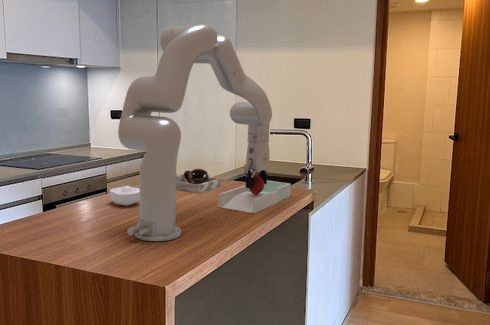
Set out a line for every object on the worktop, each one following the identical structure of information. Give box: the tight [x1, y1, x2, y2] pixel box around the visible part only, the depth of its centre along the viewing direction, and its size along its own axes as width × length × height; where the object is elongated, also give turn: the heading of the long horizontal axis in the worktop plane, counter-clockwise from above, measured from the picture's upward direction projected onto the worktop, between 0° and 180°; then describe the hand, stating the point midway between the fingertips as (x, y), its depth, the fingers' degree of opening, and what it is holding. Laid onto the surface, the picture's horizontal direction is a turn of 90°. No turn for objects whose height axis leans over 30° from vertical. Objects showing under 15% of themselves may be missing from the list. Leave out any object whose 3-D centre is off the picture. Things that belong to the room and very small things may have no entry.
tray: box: [244, 180, 292, 203], centre depth 174 cm, size 12×13×5 cm
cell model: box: [109, 185, 140, 207], centre depth 155 cm, size 10×12×7 cm
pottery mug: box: [183, 168, 210, 185], centre depth 190 cm, size 12×10×8 cm
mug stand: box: [176, 173, 222, 194], centre depth 188 cm, size 17×19×3 cm
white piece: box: [218, 185, 279, 214], centre depth 161 cm, size 18×14×6 cm
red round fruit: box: [249, 172, 264, 195], centre depth 165 cm, size 6×6×8 cm
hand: (256, 185), depth 165 cm, fingers open, 9 cm apart
